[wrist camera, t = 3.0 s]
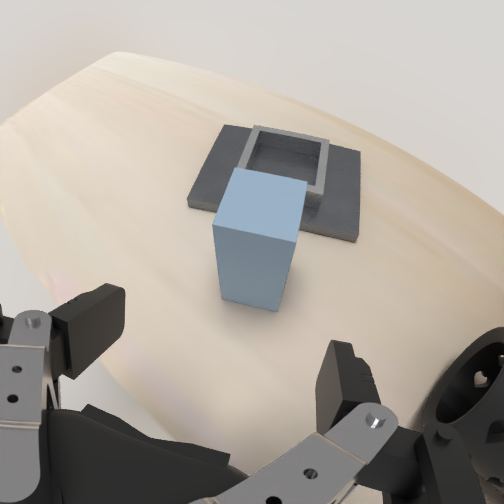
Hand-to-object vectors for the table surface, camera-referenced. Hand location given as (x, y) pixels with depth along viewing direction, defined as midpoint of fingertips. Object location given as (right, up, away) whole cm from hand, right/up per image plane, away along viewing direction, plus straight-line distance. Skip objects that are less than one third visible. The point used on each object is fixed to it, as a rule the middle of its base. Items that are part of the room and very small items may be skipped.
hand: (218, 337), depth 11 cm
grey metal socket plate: (+4, +11, +21) cm, 24 cm away
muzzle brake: (+25, -17, +5) cm, 31 cm away
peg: (+2, +1, +15) cm, 15 cm away
